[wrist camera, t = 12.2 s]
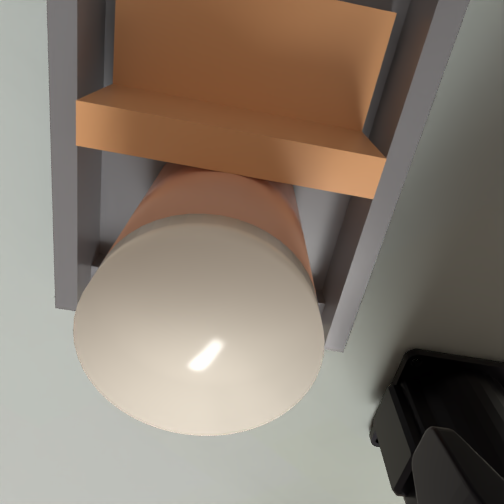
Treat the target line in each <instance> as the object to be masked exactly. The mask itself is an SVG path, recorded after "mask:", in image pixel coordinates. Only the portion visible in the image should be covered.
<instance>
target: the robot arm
mask: <svg viewBox="0 0 504 504" xmlns="http://www.w3.org/2000/svg"><path fill="white" fill-rule="evenodd" d="M414 359H418V360H416V361H413V360H414ZM373 424H374V425H373V427H372V429H371V431H370V435H369V436H370V440H371V443H372V445H374V446H376V447H380V449H381V452H382V456H383V459H384V463H385V467H386V470H387V474H388V477H389V481H390V484H391V488H392V490H393V492H394V493H395V494H396V495H397V496H403V497H404V500H405V503H406V504H504V363H502V362H496V361H490V360H483V359H477V358H470V357H464V356H458V355H451V354H445V353H438V352H432V351H426V350H419V349H413V350H409V351H408V352H407V353H406V354H405V355H404V357H403V359H402V361H401V364H400V366H399V368H398V371H397V373H396V375H395V377H394V380H393V382H392V384H391V385H390V386H389V387H388V388H387V389H386V392H385V394H384V396H383V398H382V401H381V403H380V405H379V407H378V410H377V412H376V414H375V417H374V419H373Z"/></svg>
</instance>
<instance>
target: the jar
mask: <svg viewBox="0 0 504 504" xmlns="http://www.w3.org/2000/svg"><path fill="white" fill-rule="evenodd" d="M73 335H74V344H75V348H76V352H77V356H78V359H79V361H80V363H81V366H82V368H83V370H84V371H85V373H86V375H87V376H88V378H89V380H90V381H91V382H92V384H93V385H94V386H95V387H96V389H97V390H98V391H99V392H100V393H101V394H102V395H103V396H104V397H105V398H106V399H107V400H108V401H109V402H111V403H112V404H113V405H115V406H116V407H117V408H118V409H120V410H121V411H123V412H125V413H126V414H128V415H130V416H131V417H133V418H135V419H137V420H139V421H141V422H143V423H146V424H148V425H151V426H154V427H156V428H159V429H163V430H167V431H170V432H175V433H181V434H187V435H198V436H217V435H227V434H233V433H239V432H243V431H247V430H250V429H254V428H257V427H259V426H262V425H264V424H266V423H269V422H271V421H273V420H274V419H276V418H278V417H280V416H281V415H283V414H284V413H286V412H287V411H289V410H290V409H291V408H292V407H294V406H295V405H296V404H297V403H298V402H299V401H300V400H301V399H302V398H303V397H304V395H305V394H306V393H307V392H308V391H309V389H310V388H311V386H312V384H313V383H314V381H315V380H316V377H317V375H318V373H319V370H320V368H321V364H322V360H323V356H324V344H325V341H324V331H323V325H322V320H321V315H320V311H319V306H318V301H317V296H316V291H315V287H314V282H313V277H312V272H311V267H310V263H309V258H308V253H307V248H306V243H305V239H304V234H303V229H302V224H301V219H300V215H299V210H298V205H297V200H296V196H295V192H294V188H293V185H292V184H286V183H281V182H275V181H269V180H264V179H258V178H253V177H247V176H242V175H236V174H231V173H225V172H220V171H214V170H209V169H203V168H198V167H192V166H187V165H181V164H175V163H170V162H167V163H166V164H165V165H164V167H163V168H162V170H161V171H160V173H159V174H158V176H157V177H156V179H155V180H154V182H153V184H152V185H151V187H150V188H149V190H148V191H147V193H146V194H145V196H144V198H143V199H142V201H141V202H140V204H139V205H138V207H137V208H136V210H135V212H134V213H133V215H132V216H131V218H130V219H129V221H128V223H127V224H126V226H125V227H124V229H123V230H122V232H121V233H120V235H119V237H118V238H117V240H116V241H115V243H114V244H113V246H112V248H111V249H110V251H109V252H108V254H107V255H106V257H105V258H104V260H103V262H102V263H101V265H100V266H99V268H98V269H97V271H96V273H95V274H94V276H93V277H92V279H91V280H90V282H89V283H88V285H87V287H86V288H85V290H84V291H83V293H82V295H81V298H80V300H79V302H78V304H77V308H76V312H75V316H74V326H73Z"/></svg>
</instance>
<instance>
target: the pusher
mask: <svg viewBox="0 0 504 504" xmlns="http://www.w3.org/2000/svg"><path fill="white" fill-rule="evenodd" d="M396 14H397V13H395V12H390V11H385V10H380V9H376V8H371V7H366V6H362V5H357V4H352V3H348V2H343V1H338V0H116V3H115V32H114V61H113V84H111V85H109V86H106V87H104V88H102V89H100V90H97V91H95V92H93V93H91V94H89V95H86V96H84V97H82V98H80V99H78V100H76V146H82V147H87V148H93V149H98V150H104V151H109V152H115V153H120V154H126V155H131V156H137V157H142V158H148V159H153V160H159V161H164V162H170V163H175V164H181V165H187V166H192V167H198V168H203V169H209V170H214V171H220V172H225V173H231V174H236V175H242V176H247V177H253V178H258V179H264V180H269V181H275V182H281V183H286V184H292V185H297V186H303V187H308V188H314V189H319V190H325V191H330V192H336V193H341V194H347V195H352V196H358V197H363V198H369V199H374V196H375V192H376V189H377V186H378V183H379V180H380V177H381V174H382V171H383V168H384V165H385V162H386V157H385V156H384V155H383V154H382V153H381V152H380V151H379V150H378V149H377V148H376V146H375V145H374V144H373V143H372V142H371V141H370V140H369V139H368V138H367V137H366V135H365V134H364V133H363V132H362V129H363V126H364V123H365V119H366V116H367V112H368V109H369V106H370V102H371V99H372V96H373V92H374V89H375V85H376V82H377V79H378V75H379V72H380V69H381V65H382V62H383V58H384V55H385V52H386V48H387V45H388V42H389V38H390V35H391V31H392V28H393V25H394V21H395V18H396Z"/></svg>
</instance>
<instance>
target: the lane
mask: <svg viewBox="0 0 504 504" xmlns="http://www.w3.org/2000/svg"><path fill="white" fill-rule="evenodd" d="M338 1H343V2H348V3H352V4H357V5H362V6H366V7H371V8H376V9H380V10H385V11H390V12H395V13H397V14H396V18H395V21H394V25H393V28H392V31H391V35H390V38H389V42H388V45H387V48H386V52H385V55H384V58H383V62H382V65H381V69H380V72H379V75H378V79H377V82H376V85H375V89H374V92H373V96H372V99H371V102H370V106H369V109H368V112H367V116H366V119H365V123H364V126H363V129H362V132H363V133H364V134H365V135H366V137H367V138H368V139H369V140H370V141H371V142H372V143H373V144H374V145H375V146H376V148H377V149H378V150H379V151H380V152H381V153H382V154H383V155H384V156H385V157H386V162H385V165H384V168H383V171H382V174H381V177H380V180H379V183H378V186H377V189H376V192H375V196H374V199H369V198H363V197H358V196H352V195H347V194H341V193H336V192H330V191H325V190H319V189H314V188H308V187H303V186H297V185H293V188H294V192H295V196H296V200H297V205H298V210H299V215H300V219H301V224H302V229H303V234H304V239H305V243H306V248H307V253H308V258H309V263H310V267H311V272H312V277H313V282H314V287H315V291H316V296H317V301H318V306H319V311H320V315H321V320H322V325H323V331H324V341H325V344H324V349H325V350H332V351H338V352H344V349H345V346H346V344H347V341H348V338H349V335H350V332H351V330H352V327H353V324H354V321H355V318H356V316H357V313H358V310H359V307H360V305H361V302H362V299H363V296H364V293H365V291H366V288H367V285H368V282H369V279H370V277H371V274H372V271H373V268H374V266H375V263H376V260H377V257H378V254H379V252H380V249H381V246H382V243H383V241H384V238H385V235H386V232H387V229H388V227H389V224H390V221H391V218H392V215H393V213H394V210H395V207H396V204H397V202H398V199H399V196H400V193H401V190H402V188H403V185H404V182H405V179H406V177H407V174H408V171H409V168H410V165H411V163H412V160H413V157H414V154H415V151H416V149H417V146H418V143H419V140H420V138H421V135H422V132H423V129H424V126H425V124H426V121H427V118H428V115H429V112H430V110H431V107H432V104H433V101H434V99H435V96H436V93H437V90H438V87H439V85H440V82H441V79H442V76H443V74H444V71H445V68H446V65H447V62H448V60H449V57H450V54H451V51H452V48H453V46H454V43H455V40H456V37H457V35H458V32H459V29H460V26H461V23H462V21H463V18H464V15H465V12H466V10H467V7H468V4H469V1H470V0H338ZM115 3H116V0H47V28H48V64H49V99H50V134H51V170H52V205H53V241H54V276H55V308H59V309H65V310H72V311H76V308H77V304H78V302H79V300H80V298H81V295H82V293H83V291H84V290H85V288H86V287H87V285H88V283H89V282H90V280H91V279H92V277H93V276H94V274H95V273H96V271H97V269H98V268H99V266H100V265H101V263H102V262H103V260H104V258H105V257H106V255H107V254H108V252H109V251H110V249H111V248H112V246H113V244H114V243H115V241H116V240H117V238H118V237H119V235H120V233H121V232H122V230H123V229H124V227H125V226H126V224H127V223H128V221H129V219H130V218H131V216H132V215H133V213H134V212H135V210H136V208H137V207H138V205H139V204H140V202H141V201H142V199H143V198H144V196H145V194H146V193H147V191H148V190H149V188H150V187H151V185H152V184H153V182H154V180H155V179H156V177H157V176H158V174H159V173H160V171H161V170H162V168H163V167H164V165H165V164H166V163H167V162H164V161H159V160H153V159H148V158H142V157H137V156H131V155H126V154H120V153H115V152H109V151H104V150H98V149H93V148H87V147H82V146H76V100H78V99H80V98H82V97H84V96H86V95H89V94H91V93H93V92H95V91H97V90H100V89H102V88H104V87H106V86H109V85H111V84H113V61H114V32H115Z"/></svg>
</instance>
